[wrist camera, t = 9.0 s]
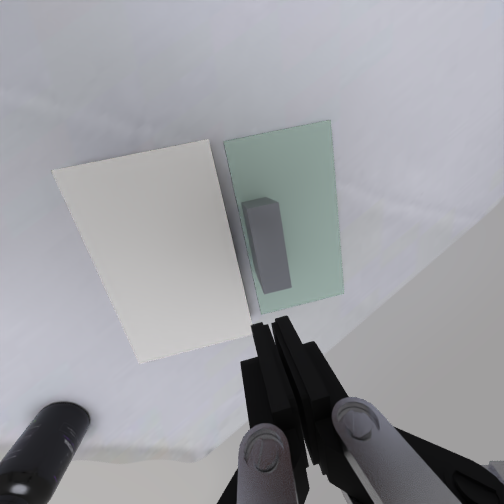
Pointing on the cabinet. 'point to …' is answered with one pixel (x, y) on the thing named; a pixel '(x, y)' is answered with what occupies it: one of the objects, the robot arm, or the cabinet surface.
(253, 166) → the mat
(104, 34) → the cabinet surface
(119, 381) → the cabinet surface
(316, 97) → the cabinet surface
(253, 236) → the case
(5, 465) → the supplement bottle
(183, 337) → the stand
